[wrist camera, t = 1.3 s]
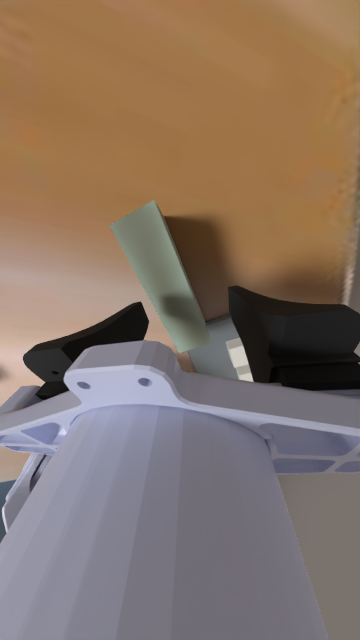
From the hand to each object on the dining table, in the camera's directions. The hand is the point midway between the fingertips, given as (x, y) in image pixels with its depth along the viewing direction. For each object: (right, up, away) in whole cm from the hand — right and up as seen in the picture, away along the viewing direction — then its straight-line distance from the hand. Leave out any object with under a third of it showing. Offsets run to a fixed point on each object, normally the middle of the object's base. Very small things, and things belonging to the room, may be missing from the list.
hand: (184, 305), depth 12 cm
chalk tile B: (+10, -6, +12) cm, 17 cm away
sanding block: (-1, +4, +8) cm, 10 cm away
